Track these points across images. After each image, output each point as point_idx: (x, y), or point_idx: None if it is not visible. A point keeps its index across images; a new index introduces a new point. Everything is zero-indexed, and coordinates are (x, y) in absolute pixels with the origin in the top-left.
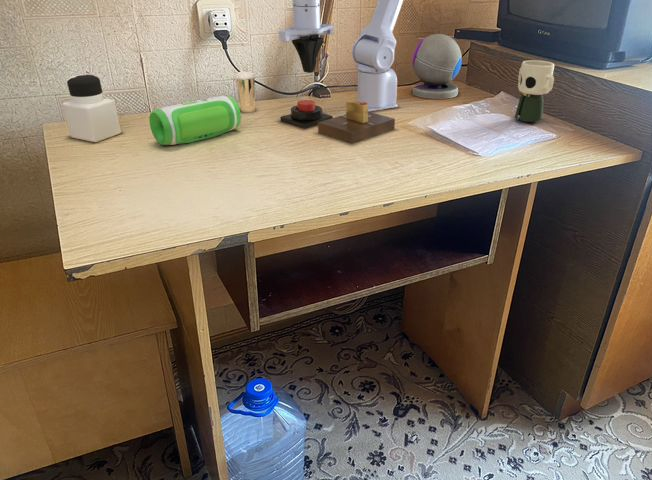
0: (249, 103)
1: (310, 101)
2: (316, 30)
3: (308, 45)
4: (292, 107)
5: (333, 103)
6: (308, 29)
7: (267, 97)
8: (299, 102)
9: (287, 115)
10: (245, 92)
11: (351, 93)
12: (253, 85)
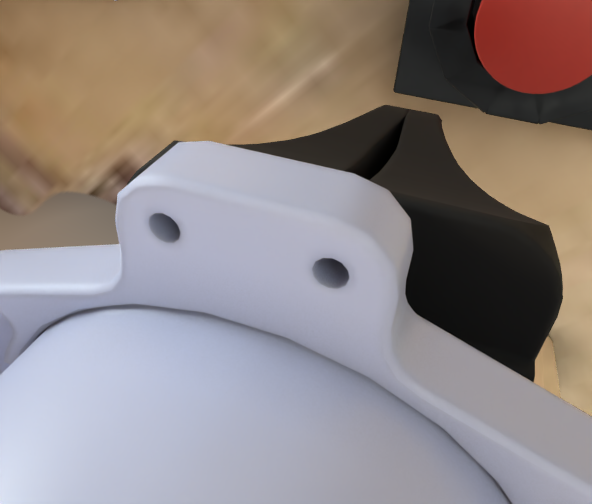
0: (542, 357)
1: (509, 11)
2: (380, 259)
3: (530, 221)
4: (569, 112)
5: (169, 94)
6: (465, 458)
7: None
8: (581, 64)
9: (586, 119)
10: None
11: (13, 119)
12: None
